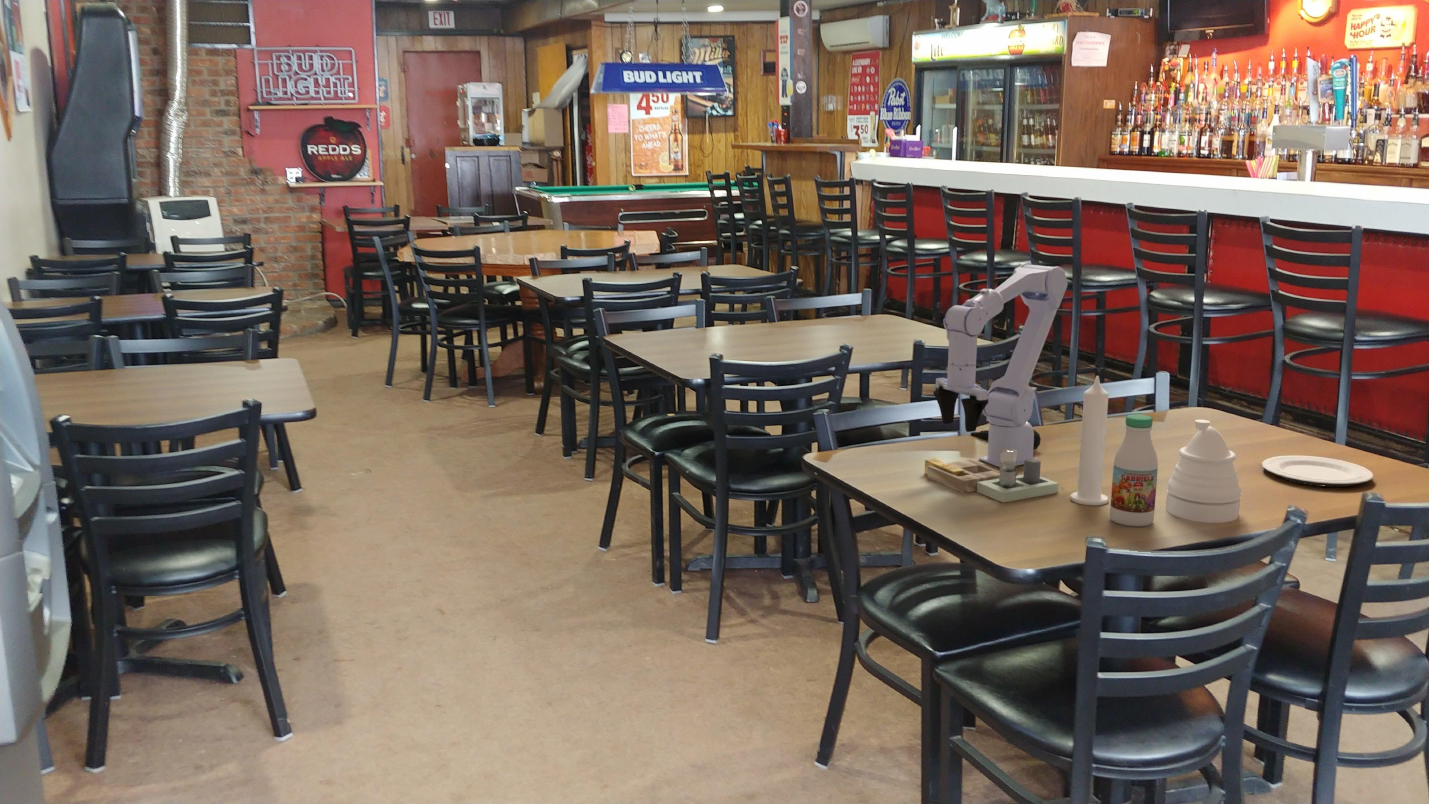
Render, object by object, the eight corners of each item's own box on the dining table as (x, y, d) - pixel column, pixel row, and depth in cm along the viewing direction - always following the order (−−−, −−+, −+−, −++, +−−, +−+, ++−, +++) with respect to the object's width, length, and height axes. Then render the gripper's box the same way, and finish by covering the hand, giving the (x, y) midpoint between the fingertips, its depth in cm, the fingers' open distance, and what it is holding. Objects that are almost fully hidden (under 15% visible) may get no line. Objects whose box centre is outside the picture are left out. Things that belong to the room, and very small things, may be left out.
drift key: (933, 471, 244) (934, 458, 244) (963, 484, 236) (963, 470, 235) (924, 473, 243) (925, 459, 243) (953, 485, 235) (954, 471, 234)
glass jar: (1007, 490, 231) (1010, 447, 229) (1018, 495, 228) (1020, 451, 226) (995, 492, 230) (997, 449, 228) (1005, 497, 227) (1008, 453, 225)
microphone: (967, 449, 274) (1033, 457, 258) (960, 428, 272) (1027, 434, 256) (981, 439, 277) (1048, 446, 260) (975, 418, 275) (1042, 423, 259)
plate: (1383, 475, 241) (1384, 466, 240) (1358, 498, 225) (1359, 489, 225) (1278, 458, 254) (1279, 449, 254) (1247, 478, 239) (1248, 470, 239)
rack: (1030, 482, 237) (1032, 454, 235) (1058, 492, 230) (1059, 463, 228) (976, 491, 231) (978, 462, 229) (1002, 502, 224) (1004, 473, 222)
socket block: (969, 470, 245) (970, 459, 245) (1006, 485, 235) (1007, 473, 234) (927, 477, 240) (927, 466, 240) (963, 492, 230) (963, 481, 229)
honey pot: (1202, 526, 209) (1211, 431, 205) (1150, 506, 221) (1158, 416, 217) (1254, 517, 214) (1264, 424, 210) (1200, 497, 226) (1209, 409, 222)
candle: (1089, 507, 220) (1097, 380, 215) (1062, 497, 226) (1070, 374, 221) (1115, 502, 223) (1125, 377, 218) (1088, 492, 229) (1097, 370, 224)
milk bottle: (1102, 514, 216) (1110, 412, 211) (1142, 513, 217) (1150, 411, 212) (1120, 528, 208) (1128, 422, 204) (1160, 526, 209) (1169, 421, 205)
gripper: (925, 359, 242) (922, 421, 245) (969, 371, 229) (966, 436, 232) (951, 356, 245) (949, 418, 248) (996, 368, 232) (993, 433, 235)
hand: (959, 427), depth 240 cm, fingers open, 7 cm apart
